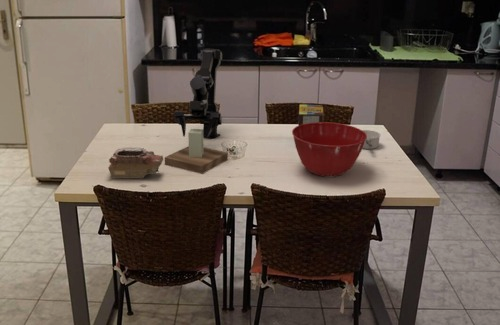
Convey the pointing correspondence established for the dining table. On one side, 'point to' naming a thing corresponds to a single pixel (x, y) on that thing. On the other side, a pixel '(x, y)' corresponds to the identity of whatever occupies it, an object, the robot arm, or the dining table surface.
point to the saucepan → (371, 139)
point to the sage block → (196, 143)
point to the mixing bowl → (328, 147)
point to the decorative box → (134, 163)
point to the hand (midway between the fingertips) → (195, 136)
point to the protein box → (310, 114)
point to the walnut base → (196, 160)
